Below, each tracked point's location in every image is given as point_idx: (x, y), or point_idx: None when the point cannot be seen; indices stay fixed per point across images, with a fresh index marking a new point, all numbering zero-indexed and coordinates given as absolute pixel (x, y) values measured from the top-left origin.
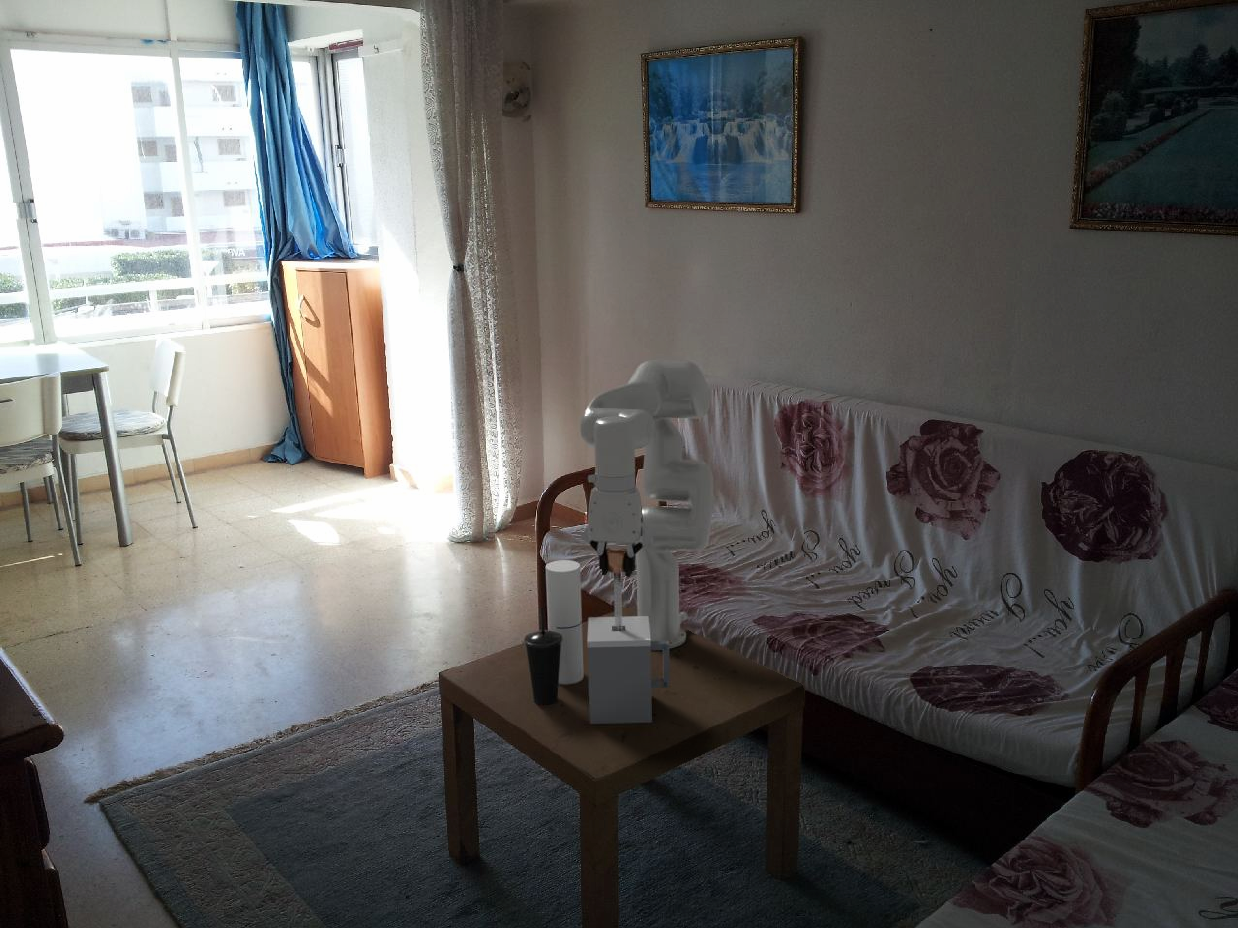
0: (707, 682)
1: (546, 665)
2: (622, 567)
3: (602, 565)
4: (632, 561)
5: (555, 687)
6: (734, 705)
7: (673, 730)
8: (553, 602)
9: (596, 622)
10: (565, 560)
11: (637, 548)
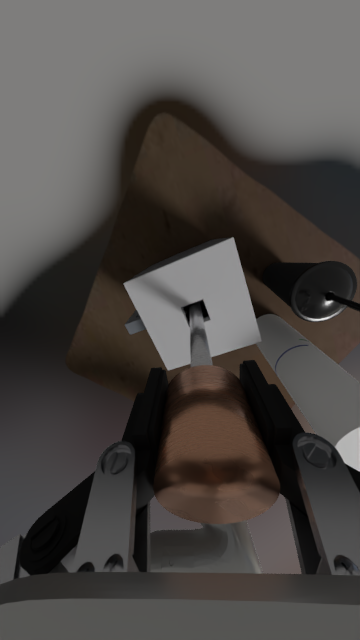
0: (135, 355)
1: (294, 266)
2: (173, 392)
3: (264, 385)
4: (128, 426)
5: (269, 275)
6: (95, 322)
7: (125, 256)
8: (339, 369)
9: (242, 325)
10: None
11: (66, 513)
